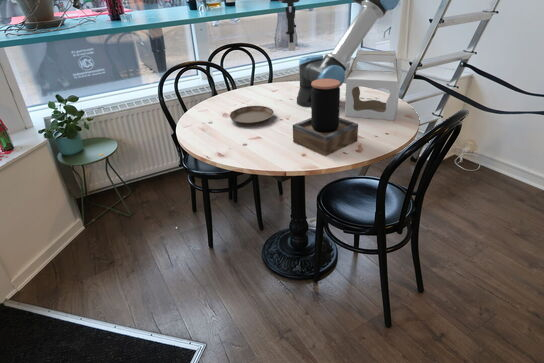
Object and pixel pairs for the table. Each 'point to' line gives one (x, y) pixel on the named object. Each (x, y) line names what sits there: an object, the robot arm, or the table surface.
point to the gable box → (373, 86)
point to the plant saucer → (252, 115)
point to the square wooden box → (325, 136)
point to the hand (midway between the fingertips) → (292, 47)
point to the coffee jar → (325, 105)
